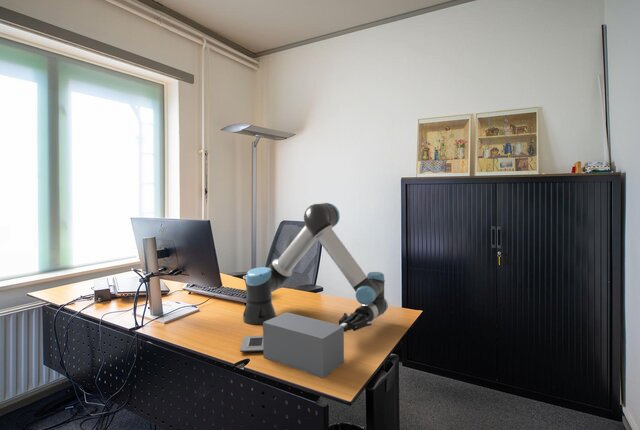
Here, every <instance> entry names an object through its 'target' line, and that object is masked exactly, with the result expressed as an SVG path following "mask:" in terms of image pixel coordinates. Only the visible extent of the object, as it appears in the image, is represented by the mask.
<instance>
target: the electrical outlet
mask: <svg viewBox="0 0 640 430" xmlns="http://www.w3.org/2000/svg"><path fill="white" fill-rule="evenodd" d="M239 352H240V353H256V352H264V351H263V334H262V335H244V336H243V338H242V342H241V345H240V349H239Z"/></svg>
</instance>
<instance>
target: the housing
mask: <svg viewBox="0 0 640 430" xmlns="http://www.w3.org/2000/svg"><path fill="white" fill-rule="evenodd" d="M262 335H263V351H262V352H263V358H264V359H267V360H270V361H272V362H276V363H279V364H281V365H284V366H288V367H290V368H293V369H296V370H298V371H301V372H304V373H306V374H310V375H312V376H315V377H318V378H322V379H324V378H325V377H327V376H328V375H329V374H331V373H332V372H333V371H335V370H336V369H337V368H339V367H340V366H341V365H343V364H344V362H345V332H344V326H342V325H339V324H337V323H332V322H330V321H329V322H328V321H325V320H321V319H316V318H312V317H307V316H303V315H299V314H296V313H292V312H287V311H286V312H283V313H281V314H279V315H277V316H276V317H274V318H272V319H269V320H267V321H265V322H263V324H262Z"/></svg>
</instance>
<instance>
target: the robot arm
mask: <svg viewBox="0 0 640 430" xmlns="http://www.w3.org/2000/svg"><path fill="white" fill-rule="evenodd" d="M303 213H304V215H303V221H304V226H303V228H302V229H301V230H300V231H299V232H298V233H297V235H296V236H295V238H294V239H293V240H292V241H291V242H290V244H289V245H288V247H286V249H285V250H284V251H283V252H282V254H281V255H280V256H279V257H278V258H275V259H273V260H272V261H271V263H270V264H269V265H268V266H267V267H266V266H257V267H254V268H252V269H249V270H248V271H247V272H246V283H245V288H246V289H245V292H246V293H245V294H246V304H245V307H244V310H243V311H244V312H243V314H242V319H243V320H242V321H243V322H244V323H245V324H249V325H263V322H265V321H267V320H269V319H272V318H274V317H276V311H275V307H274V305H273V302H272V300H273V299H272V298H273V297H272V293H273V292H275V291H277V290H278V289H281V288H283V287H285V286H286V285H287V284H288V283H289V282H290V279H291V276H292V274H293V269H294V268H295V267H296V265H297V264H299V262H300V260H302V258H303V257H304V256H305V255H306V254H307V252H308V251H309V250H310V249H311V247H312V246H313V245H314V244H315V243H316V242H317V240H318V242H319V244H321V246H322V247H323V249H324V250H325V251H326V252H327V254H328V255H329V257H330V258H331V260H332V261H333V263H334V265H336V266H337V268H338V269H339V271H340V272H341V273H342V275H343V276H344V278H345V279H346V280H347V281H348V283H349V285H350V286H351V287H352V289H353V290H354V291H355V299H356V301H357V302H358V303H359V304H361V305H360V306H359V307H357V308H355V310H354V312H352V313H350V314H347V312H344V313H343V316H342V317H341V318H340V319H339V320H338V325H342V326H344V333H346V332H348V331H351V330H352V331H354V332H356V331H358V330H361V329H363V328H365V327H366V328H367V327H370V326H372V321H374V320H375V319H377V318H379V317H381V316H382V315H384V313H386V311H387V310H388V308H389V304H388V300H387V299H386V298H385V281H386V280H385V274H384V273H383V272H381V271H371V272H368V273H367V275H366V273H365V272H364V271H363V269H362V268H361V266H360V265H359V264H358V262H357V261H356V259H355V258H354V257H353V255H352V254H351V253H350V251H349V250H348V249H347V248H346V246H345V244H344V243H343V241H341V239H340V238H339V237H338V235H337V234H336V232H335V231H334V230H333V227H335V226H336V225H337V224H338V223H339V222H340V218H341V217H340V216H341V215H340V211H339V209H338V207H337V206H335V204H332V203H329V202H322V203H314V204H311V205H309V206H308V207H307V208H306V210H305V211H304V212H303Z"/></svg>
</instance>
